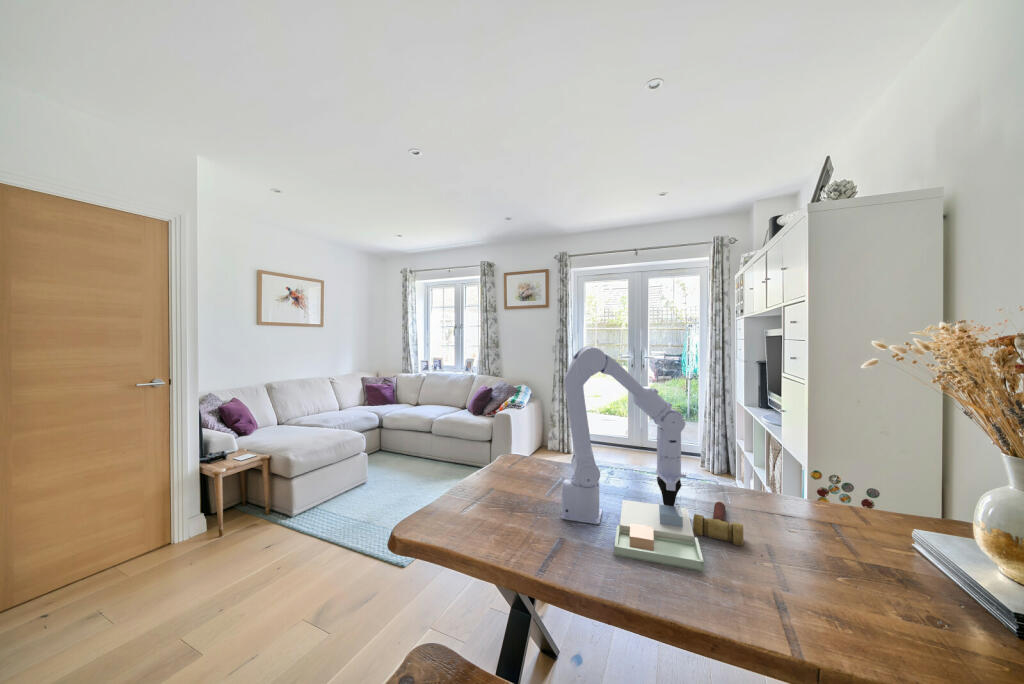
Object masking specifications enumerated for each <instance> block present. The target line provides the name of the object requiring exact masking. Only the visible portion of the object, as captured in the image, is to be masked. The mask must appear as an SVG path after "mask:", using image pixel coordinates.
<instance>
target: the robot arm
mask: <svg viewBox="0 0 1024 684" xmlns="http://www.w3.org/2000/svg"><path fill="white" fill-rule="evenodd" d="M599 372H600V373H601V374H603V375H607V376H611V377H612V378H613V379H614V380H615V381H617V382H618V383H619V384H620V385H621V386H622V387H624V388H625V389H626V390H627V392H628V391H629V393H630V394H632V396H633V397H632V399H633V403H634V404H635V406H638V408H639V409H641V411H642V412H643V413H645V414H646V415H647V416H648V417H649V418H650V419H651V420H653V422H654V424H656V425H658V426H657V427H656V430H657V433H656V470H655V475H656V482H657V486H658V487H659V489H660V492H661V496H662V497H661V498H662V502H663V504H662V505H667V506H675V503H676V498H677V496H678V493H679V492H680V489H681V488H682V483H681V481H682V480H681V479H682V478H687V474H686V473H687V472H685V471H682V432H683V430H684V429H685V426H686V421H685V419H684V416H683V415H682V414H681V412H679V411H677V410H676V409H674V408H673V407H672V406H673V404H672V403H671V402H669V401H666V400H665V399H664V398H663V397H662V396H661V395H659V392H660V391H659V390H657V389H656V388H654V387H653V388H652V387H651V386H642V385H641V384H640V382H638V381H637V380H636V379H635V377H633V376H632V375H631V374H630V373H629V372H628V371H627V370H626V369H625V368H624V367H623V366H622V365H621V364H620V363H619V362H617V360H615V359H614V358H612V357H611V356H610V355H608V354H606V353H605V352H604V351H603V350H601V349H600V348H598V347H593V346H589V345H588V346H584V347H582V348H580V349H579V350H578V351H577V352H576V353H575V354H574V355H573V357H572V360H571V362H570V364H569V365H568V368H567V371H566V373H565V375H564V376H563V383H564V391H565V398H566V399H565V400H566V404H567V405H566V406H567V412H568V419H569V425H570V433H571V440H572V450H573V451H572V453H573V455H572V458H571V468H572V470H573V475H572V476H571V478H566V479H563V483H562V487H561V489H562V491H561V493H562V494H561V513H562V514H561V520H567V521H575V522H580V523H585V524H593V525H600V523H601V517H602V513H603V509H602V508H600V478H601V471H600V469H599V466H598V465H597V464H596V461H595V457H594V452H593V447H592V442H591V434H590V428H589V420H588V414H587V413H588V412H587V406H586V405H587V404H586V399H585V393H584V391H585V390H584V385H585V384H586V383H587V382H588V380H589V379H590V378H591V377H592V376H594V375H596V374H598V373H599Z"/></svg>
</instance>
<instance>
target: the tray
mask: <svg viewBox="0 0 1024 684" xmlns="http://www.w3.org/2000/svg"><path fill="white" fill-rule="evenodd" d="M615 532H616V533H615V539H614V556H616V557H621V558H627V559H631V560H637V561H638V560H639V561H643V562H647V563H648V562H649V563H653V564H654V563H655V564H660V565H665V566H668V567H669V566H670V567H675V568H682V569H686V570H692V571H697V572H702V573H703V572H705V561H704V558H703V554H702V550H701V546H700V542H699V538H698V537H695V536H694V542H688V541H681V540H675V539H669V538H663V537H657V536H654V551H651V550H645V549H639V548H633V547H630V532H626V531H620V524H619V525H616V531H615Z"/></svg>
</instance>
